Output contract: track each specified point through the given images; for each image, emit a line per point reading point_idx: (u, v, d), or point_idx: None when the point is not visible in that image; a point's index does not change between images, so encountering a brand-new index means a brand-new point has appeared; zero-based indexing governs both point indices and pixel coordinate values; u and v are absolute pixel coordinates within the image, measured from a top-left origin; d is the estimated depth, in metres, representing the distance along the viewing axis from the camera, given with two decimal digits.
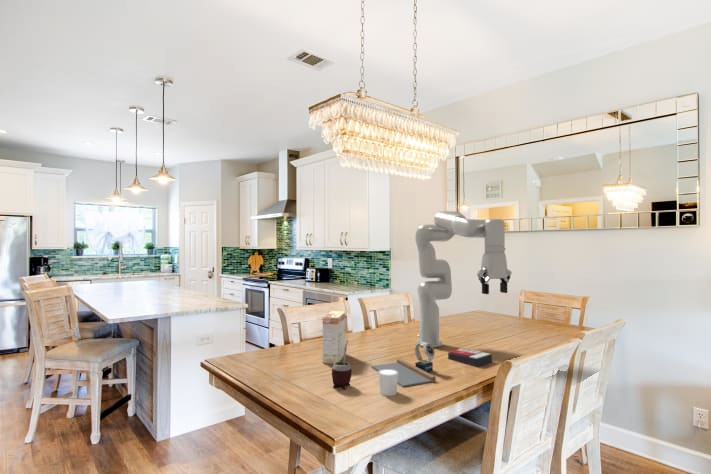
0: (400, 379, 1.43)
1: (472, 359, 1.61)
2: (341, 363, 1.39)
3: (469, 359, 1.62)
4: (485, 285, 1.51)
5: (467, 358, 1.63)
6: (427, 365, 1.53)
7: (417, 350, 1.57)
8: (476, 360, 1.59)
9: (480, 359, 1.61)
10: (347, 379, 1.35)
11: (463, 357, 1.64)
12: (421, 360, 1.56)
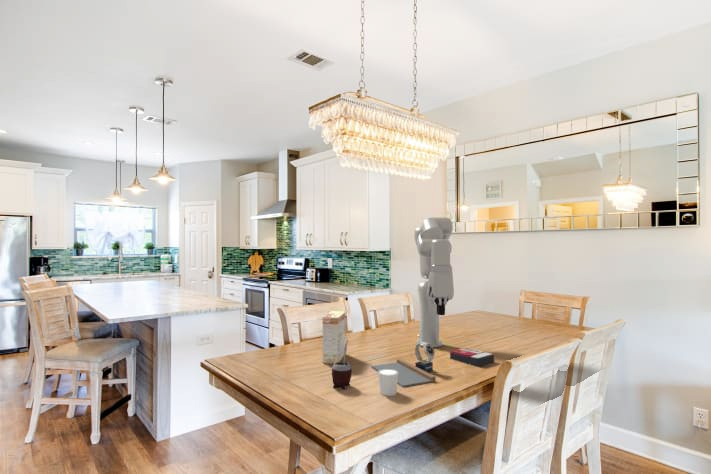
0: (400, 379, 1.43)
1: (473, 359, 1.61)
2: (341, 363, 1.39)
3: (471, 359, 1.62)
4: (439, 306, 1.57)
5: (469, 358, 1.63)
6: (427, 365, 1.53)
7: (417, 350, 1.57)
8: (477, 360, 1.60)
9: (482, 359, 1.61)
10: (347, 379, 1.35)
11: (465, 357, 1.65)
12: (421, 360, 1.56)
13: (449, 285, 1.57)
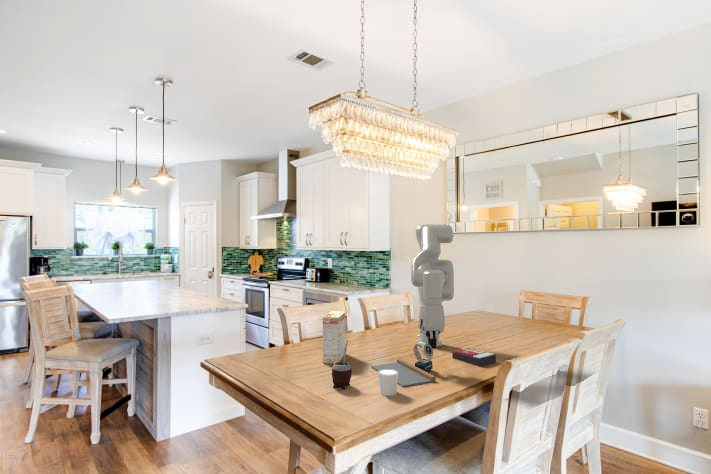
0: (400, 379, 1.43)
1: (475, 359, 1.61)
2: (341, 363, 1.39)
3: (472, 359, 1.63)
4: (430, 340, 1.55)
5: (470, 358, 1.63)
6: (427, 365, 1.53)
7: (416, 350, 1.56)
8: (479, 360, 1.60)
9: (483, 359, 1.61)
10: (347, 379, 1.35)
11: (467, 357, 1.65)
12: (420, 359, 1.55)
13: (440, 318, 1.55)
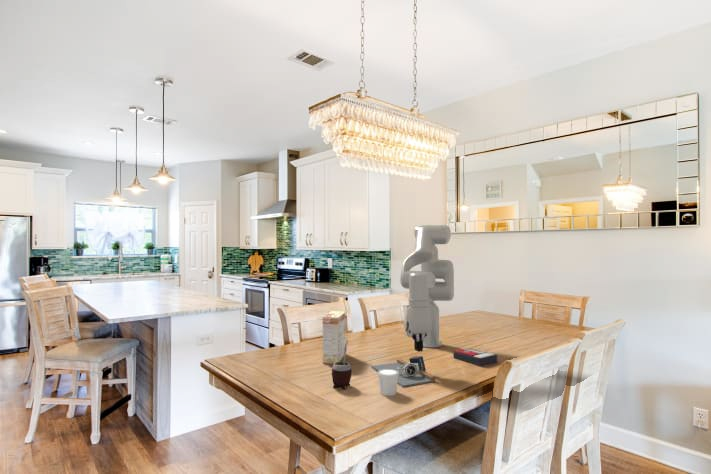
0: (400, 379, 1.43)
1: (476, 358, 1.62)
2: (341, 363, 1.39)
3: (473, 358, 1.63)
4: (417, 342, 1.53)
5: (471, 357, 1.64)
6: (420, 367, 1.50)
7: (401, 369, 1.51)
8: (480, 360, 1.60)
9: (484, 359, 1.61)
10: (347, 379, 1.35)
11: (467, 356, 1.65)
12: None
13: (427, 320, 1.53)
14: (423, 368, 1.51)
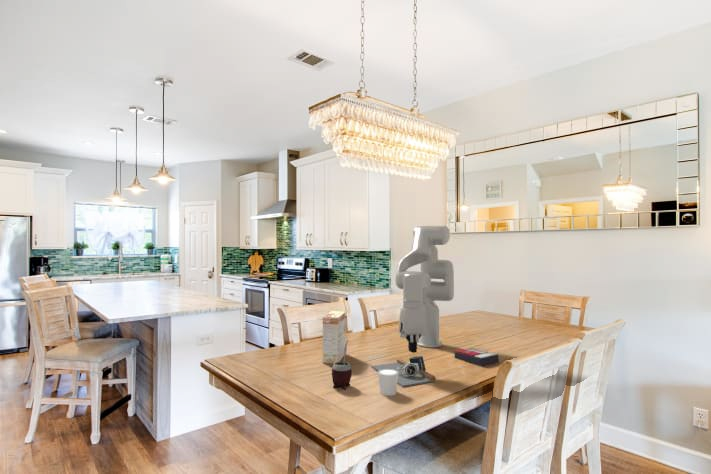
0: (400, 379, 1.43)
1: (477, 358, 1.62)
2: (341, 363, 1.39)
3: (474, 358, 1.63)
4: (411, 343, 1.51)
5: (472, 357, 1.64)
6: (420, 367, 1.50)
7: (401, 369, 1.51)
8: (481, 359, 1.60)
9: (485, 359, 1.61)
10: (347, 379, 1.35)
11: (468, 356, 1.65)
12: None
13: (421, 321, 1.52)
14: (423, 368, 1.51)
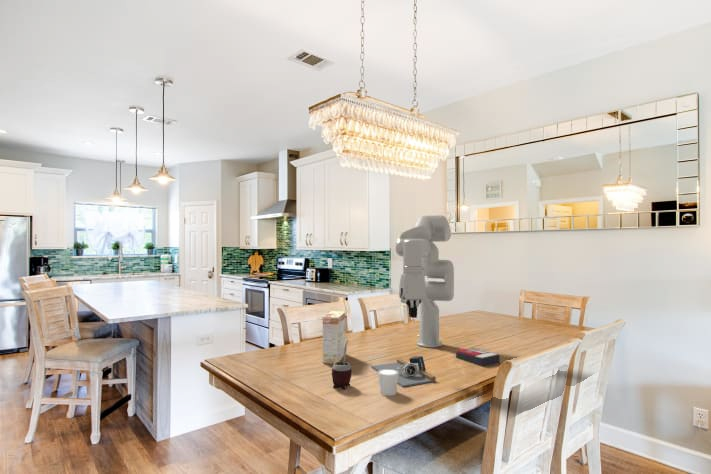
0: (400, 379, 1.43)
1: (478, 358, 1.62)
2: (341, 363, 1.39)
3: (475, 358, 1.63)
4: (411, 309, 1.52)
5: (473, 357, 1.64)
6: (420, 367, 1.50)
7: (401, 369, 1.51)
8: (481, 359, 1.60)
9: (486, 359, 1.61)
10: (347, 379, 1.35)
11: (469, 356, 1.66)
12: None
13: (421, 287, 1.52)
14: (423, 368, 1.51)
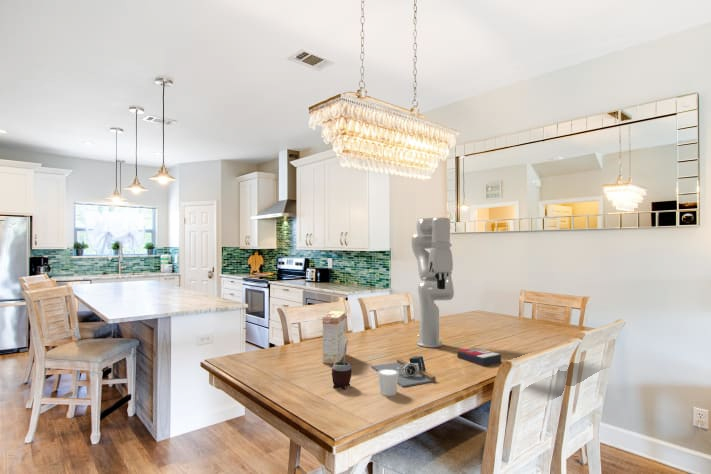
0: (400, 379, 1.43)
1: (479, 358, 1.62)
2: (341, 363, 1.39)
3: (476, 358, 1.63)
4: (439, 281, 1.66)
5: (474, 357, 1.64)
6: (420, 367, 1.50)
7: (401, 369, 1.51)
8: (483, 359, 1.60)
9: (487, 359, 1.61)
10: (347, 379, 1.35)
11: (471, 356, 1.66)
12: None
13: (449, 261, 1.66)
14: (423, 368, 1.51)
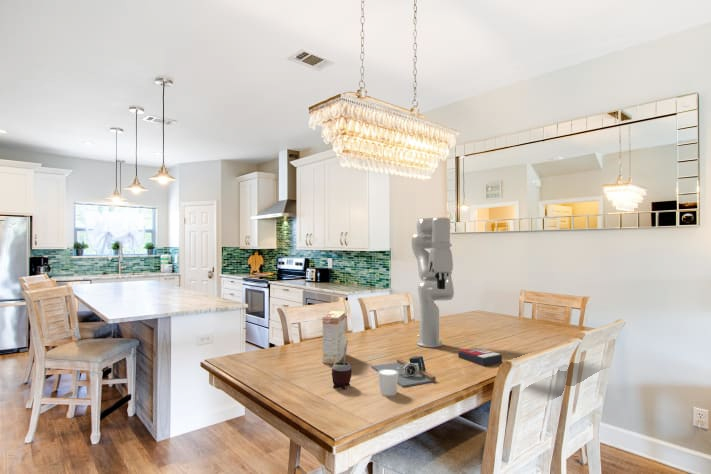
0: (400, 379, 1.43)
1: (480, 358, 1.62)
2: (341, 363, 1.39)
3: (477, 358, 1.63)
4: (439, 281, 1.66)
5: (475, 357, 1.64)
6: (420, 367, 1.50)
7: (401, 369, 1.51)
8: (483, 359, 1.60)
9: (488, 359, 1.61)
10: (347, 379, 1.35)
11: (471, 356, 1.66)
12: None
13: (449, 261, 1.66)
14: (423, 368, 1.51)
